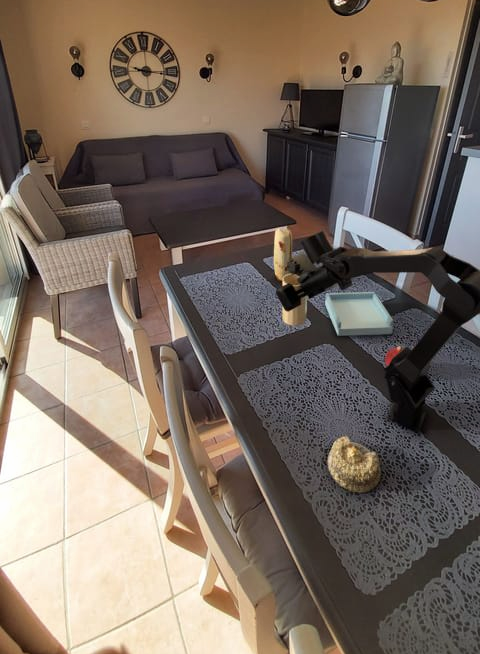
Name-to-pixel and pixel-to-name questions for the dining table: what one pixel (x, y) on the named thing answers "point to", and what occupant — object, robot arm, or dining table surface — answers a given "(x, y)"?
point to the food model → (282, 252)
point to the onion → (392, 355)
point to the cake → (353, 466)
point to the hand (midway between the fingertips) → (291, 297)
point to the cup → (298, 313)
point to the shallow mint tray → (358, 314)
